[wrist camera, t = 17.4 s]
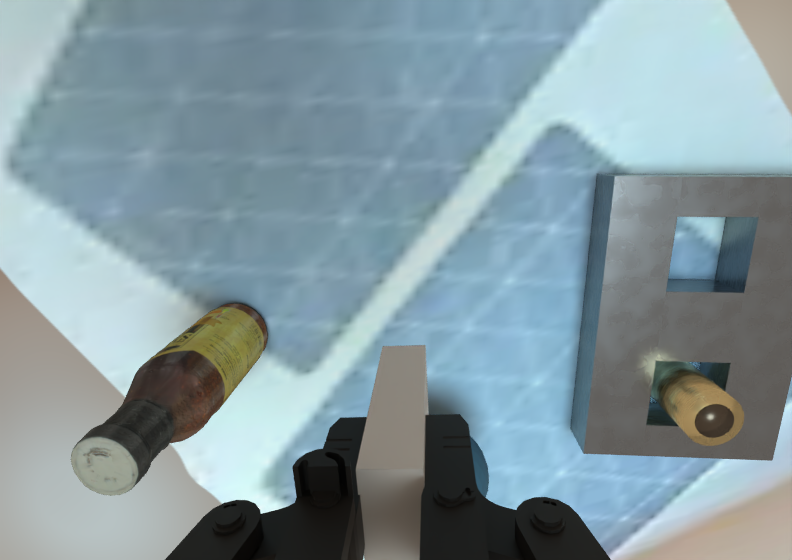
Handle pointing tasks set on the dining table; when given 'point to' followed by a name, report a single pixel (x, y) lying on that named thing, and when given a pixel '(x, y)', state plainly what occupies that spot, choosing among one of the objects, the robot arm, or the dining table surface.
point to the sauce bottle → (171, 398)
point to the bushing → (696, 403)
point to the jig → (684, 312)
